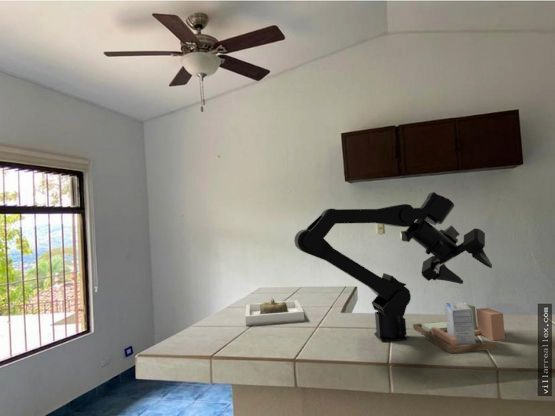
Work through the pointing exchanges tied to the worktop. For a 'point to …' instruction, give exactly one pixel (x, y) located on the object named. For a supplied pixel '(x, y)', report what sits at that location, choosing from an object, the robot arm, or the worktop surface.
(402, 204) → the robot arm
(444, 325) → the sage green stepped block
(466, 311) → the medicine box
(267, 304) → the cake
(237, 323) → the worktop surface
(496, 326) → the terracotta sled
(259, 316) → the white ceramic dish
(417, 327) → the lane rails
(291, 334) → the worktop surface
